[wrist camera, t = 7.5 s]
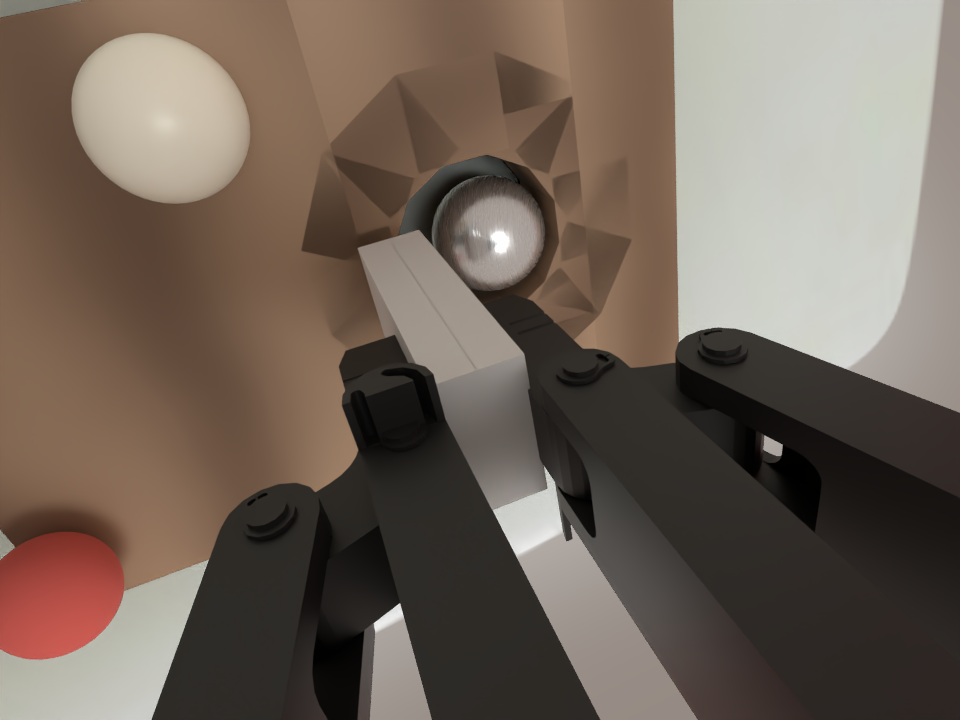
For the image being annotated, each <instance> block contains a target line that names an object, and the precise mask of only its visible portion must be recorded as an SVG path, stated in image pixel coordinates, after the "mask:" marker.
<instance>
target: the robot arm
mask: <svg viewBox="0 0 960 720" xmlns="http://www.w3.org/2000/svg"><path fill="white" fill-rule="evenodd" d="M358 251H359V255H360V258H361V261H362V264H363V268H364V271H365V274H366V277H367V281H368V284H369V287H370V290H371V294H372V297H373V300H374V303H375V307H376V310H377V313H378V316H379V320H380V323H381V326H382V329H383V333H384V336H385V338H383V339H380V340H377V341H374V342H371V343H368V344H365V345H362V346H359V347H355V348H352V349H349V350H346V351H345V353H344V355H343V358H342V360H341V362H340V364H339V370H340V374H341V377H342V381H343V385H344V388H345V392H344V393H343V396H342V408H343V410H344V413H345V416H346V418H347V421H348V424H349V426H350V429H351V432H352V434H353V437H354V440H355V442H356V445H357V448H358V452H357V455H356V457H355V459H354V461H353V462H352V464H351V465H350V466H349V467H348V468H347V470H346V471H345V472H344V473H343V474H342V475H340V476H339V477H338V478H336V479H335V480H334V481H332V482H331V483H330V484H328V485H326V486H325V487H323V488H321V489H320V490H318V491H317V492H314V490H313V489H312V488H311V487H309V486H306V485H302V484H299V483H285V484H277V485H274V486H271V487H268V488H265V489H262V490H260V491H258V492H257V493H255V494H253V495H252V496H250V497H248V498H247V499H245V500H243V501H242V502H241V503H240V504H239V505H238V506H237V507H236V508H235V509H234V510H233V511H232V512H231V513H229V515H228V516H227V518H226V520H225V522H224V523H223V525H222V527H221V528H220V531H219V534H218V536H217V539H216V542H215V545H214V548H213V550H212V553H211V556H210V559H209V561H208V564H207V567H206V570H205V573H204V575H203V578H202V581H201V584H200V586H199V589H198V592H197V595H196V598H195V600H194V603H193V606H192V609H191V612H190V614H189V617H188V620H187V623H186V625H185V628H184V631H183V634H182V637H181V639H180V642H179V645H178V648H177V650H176V653H175V656H174V659H173V662H172V664H171V667H170V670H169V673H168V676H167V678H166V681H165V684H164V687H163V689H162V692H161V695H160V698H159V701H158V703H157V706H156V709H155V712H154V714H153V717H152V720H370V704H371V689H372V673H373V656H374V640H375V629H374V622H376V621H377V620H378V619H379V618H381V617H382V616H383V615H385V614H386V613H387V612H389V611H390V610H391V609H393V608H394V607H395V606H396V605H398V604H399V603H400V604H401V608H402V611H403V615H404V619H405V622H406V626H407V630H408V633H409V637H410V641H411V644H412V648H413V651H414V655H415V659H416V663H417V666H418V670H419V674H420V677H421V681H422V684H423V688H424V692H425V695H426V699H427V703H428V706H429V710H430V714H431V717H432V720H600V719H599V717H598V715H597V713H596V711H595V709H594V707H593V705H592V703H591V701H590V699H589V697H588V695H587V693H586V692H585V690H584V687H583V686H582V684H581V682H580V680H579V678H578V676H577V674H576V672H575V670H574V668H573V666H572V664H571V662H570V660H569V658H568V656H567V654H566V652H565V651H564V649H563V647H562V645H561V643H560V641H559V639H558V637H557V635H556V633H555V631H554V629H553V627H552V625H551V623H550V622H549V619H548V618H547V616H546V614H545V612H544V610H543V608H542V606H541V604H540V602H539V600H538V598H537V596H536V594H535V592H534V590H533V588H532V586H531V585H530V583H529V581H528V579H527V577H526V575H525V573H524V571H523V569H522V567H521V565H520V563H519V561H518V559H517V557H516V555H515V553H514V551H513V549H512V548H511V546H510V544H509V542H508V540H507V538H506V536H505V534H504V532H503V530H502V528H501V526H500V524H499V522H498V520H497V518H496V516H495V515H494V513H493V511H492V510H494V509H496V508H499V507H501V506H504V505H506V504H509V503H512V502H514V501H517V500H519V499H522V498H524V497H527V496H530V495H532V494H535V493H537V492H540V491H542V490H545V489H547V483H546V477H545V471H544V466H545V468H546V469H547V471H548V472H549V474H550V475H551V477H552V478H553V479H554V481H555V485H556V491H557V497H558V503H559V510H560V516H561V522H562V528H563V532H564V536H565V539H566V541H569V540H571V539H572V533H571V525H572V526H573V528H574V530H575V531H576V533H577V534H578V536H579V537H580V539H581V540H582V542H583V543H584V545H585V546H586V548H587V550H588V551H589V553H590V554H591V556H592V557H593V559H594V560H595V562H596V563H597V565H598V567H599V568H600V570H601V571H602V572H603V574H604V576H605V577H606V579H607V580H608V582H609V583H610V585H611V587H612V588H613V590H614V591H615V593H616V594H617V596H618V597H619V599H620V600H621V602H622V604H623V605H624V607H625V608H626V610H627V611H628V613H629V614H630V616H631V617H632V619H633V620H634V622H635V623H636V625H637V627H638V628H639V630H640V631H641V633H642V634H643V636H644V637H645V639H646V641H647V642H648V643H649V645H650V647H651V648H652V650H653V651H654V653H655V654H656V656H657V657H658V659H659V660H660V662H661V664H662V665H663V666H664V668H665V670H666V671H667V673H668V674H669V676H670V678H671V679H672V681H673V682H674V683H675V685H676V687H677V688H678V690H679V691H680V693H681V694H682V696H683V697H684V699H685V701H686V702H687V704H688V705H689V707H690V708H691V710H692V711H693V713H694V714H695V716H696V718H697V719H698V720H960V413H958V412H956V411H953V410H951V409H948V408H945V407H943V406H940V405H938V404H935V403H932V402H930V401H927V400H925V399H922V398H920V397H917V396H914V395H912V394H909V393H907V392H904V391H901V390H899V389H896V388H894V387H891V386H888V385H886V384H883V383H880V382H878V381H875V380H873V379H870V378H867V377H865V376H862V375H860V374H857V373H854V372H852V371H849V370H847V369H844V368H841V367H839V366H836V365H834V364H831V363H828V362H826V361H823V360H821V359H818V358H815V357H813V356H810V355H808V354H805V353H802V352H800V351H797V350H794V349H792V348H789V347H787V346H784V345H781V344H779V343H776V342H774V341H771V340H768V339H766V338H763V337H761V336H758V335H755V334H753V333H750V332H746V331H742V330H738V329H729V328H711V329H706V330H700V331H698V332H695V333H693V334H690V335H687V336H686V337H685V338H684V339H682V340H681V341H680V342H679V343H678V345H677V348H676V351H675V363H668V364H661V365H654V366H647V367H635V368H630V367H629V366H628V365H627V364H626V363H625V362H623V361H622V360H621V359H620V358H619V357H617V356H615V355H614V354H612V353H610V352H608V351H603V350H599V349H594V348H592V349H583V348H582V347H581V346H579V345H578V344H577V343H576V342H575V341H574V340H573V339H572V338H571V337H570V336H569V335H568V334H567V333H566V332H565V331H564V330H563V329H562V328H561V327H560V326H559V325H558V324H557V323H554V321H553V320H552V319H551V318H550V317H549V316H548V315H547V314H545V313H544V311H543V310H542V309H541V308H540V307H539V306H538V305H537V304H536V303H535V302H534V301H532V300H529V299H526V298H523V297H520V296H517V295H514V294H513V295H510V296H507V297H504V298H501V299H498V300H494V301H491V302H488V303H485V304H482V303H481V302H480V301H479V300H478V299H477V298H476V296H475V295H474V294H473V293H472V292H471V290H470V289H469V288H468V287H467V286H466V285H465V283H464V282H463V281H462V280H461V279H460V278H459V276H458V275H457V274H456V273H455V272H454V270H453V269H452V268H451V267H450V266H449V265H448V263H447V262H446V261H445V260H444V259H443V258H442V256H441V255H440V254H439V253H438V252H437V250H436V249H435V248H434V247H433V246H432V245H431V243H430V242H429V241H428V240H427V239H426V238H425V236H424V235H423V234H422V233H421V232H420V230H417V231H413V232H410V233H406V234H403V235H400V236H396V237H393V238H389V239H386V240H383V241H379V242H376V243H372V244H369V245H366V246H362V247H359V248H358ZM764 435H765V436H767V437H769V438H771V439H773V440H775V441H777V442H779V443H781V444H783V449H782V455H781V456H775V455H772V454H770V453H768V452H766V451H764V450H763V446H764Z"/></svg>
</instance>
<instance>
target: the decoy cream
mask: <svg viewBox="0 0 960 720" xmlns="http://www.w3.org/2000/svg"><path fill="white" fill-rule="evenodd" d="M71 101H72V117H73V123H74V127H75V130H76V134H77V136H78V138H79V141H80V143H81V145H82V147H83V149H84V150H85V152H86V154H87V155H88V157H89V158H90V159H91V161H92V162H93V163H94V165H95V166H96V167H97V168H98V169H99V170H100V171H101V172H102V173H103V174H104V175H105V176H106V177H107V178H109V179H110V180H111V181H112V182H114V183H115V184H117V185H118V186H119V187H121V188H122V189H124V190H126V191H128V192H130V193H132V194H134V195H136V196H139V197H141V198H144V199H148V200H151V201H155V202H161V203H171V204H180V203H189V202H194V201H198V200H201V199H204V198H207V197H210V196H212V195H214V194H216V193H217V192H219V191H220V190H222V189H223V188H225V187H226V186H227V185H228V184H229V183H230V182H231V181H232V180H233V179H234V177H235V176H236V175H237V174H238V172H239V170H240V169H241V167H242V165H243V163H244V161H245V158H246V156H247V152H248V148H249V142H250V122H249V116H248V112H247V108H246V105H245V102H244V100H243V97H242V95H241V93H240V91H239V89H238V87H237V86H236V84H235V82H234V81H233V80H232V78H231V77H230V76H229V74H228V73H227V72H226V71H225V70H224V68H223V67H222V66H221V65H220V64H219V63H218V62H217V61H215V60H214V59H213V58H212V57H211V56H210V55H208V54H207V53H205V52H204V51H202V50H201V49H199V48H198V47H196V46H194V45H192V44H190V43H188V42H186V41H183V40H181V39H178V38H175V37H171V36H168V35H164V34H156V33H136V34H129V35H125V36H122V37H118V38H116V39H113V40H111V41H109V42H107V43H105V44H104V45H102V46H101V47H100V48H98V49H97V50H95V51H94V52H93V53H92V54H91V55H90V56H89V57H88V58H87V60H86V61H85V62H84V64H83V65H82V66H81V68H80V70H79V72H78V74H77V76H76V79H75V83H74V86H73V91H72V98H71Z"/></svg>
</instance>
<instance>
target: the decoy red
mask: <svg viewBox="0 0 960 720" xmlns="http://www.w3.org/2000/svg"><path fill="white" fill-rule="evenodd" d="M123 592H124V574H123V569H122V566H121V563H120V561H119V559H118V558H117V556H116V554H115V553H114V552H113V550H112V549H111V548H110V547H108V546H107V545H106V544H105V543H104V542H102V541H101V540H99V539H97V538H95V537H92V536H90V535H87V534H83V533H77V532H54V533H49V534H45V535H41V536H38V537H35V538H33V539H30V540H28V541H26V542H24V543H22V544H21V545H19V546H17V547H16V548H14V549H13V550H12V551H10V552H9V553H8V554H7V555H6V556H5V557H3V558H2V559H1V560H0V649H1V650H3V651H4V652H6V653H9V654H11V655H14V656H17V657H21V658H25V659H49V658H55V657H59V656H63V655H66V654H68V653H71V652H73V651H75V650H77V649H79V648H81V647H83V646H85V645H86V644H88V643H89V642H90V641H92V640H93V639H95V638H96V637H97V636H98V635H99V634H100V633H101V632H102V631H103V630H104V629H105V628H106V627H107V626H108V624H109V623H110V622H111V620H112V619H113V617H114V616H115V614H116V612H117V610H118V608H119V606H120V603H121V600H122V597H123Z"/></svg>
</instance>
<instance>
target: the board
mask: <svg viewBox="0 0 960 720" xmlns="http://www.w3.org/2000/svg"><path fill="white" fill-rule="evenodd" d="M136 33H156V34H164V35H168V36H171V37H175V38H178V39H181V40H183V41H186V42H188V43H190V44H192V45H194V46H196V47H198V48H199V49H201V50H202V51H204V52H205V53H207V54H208V55H210V56H211V57H212V58H213V59H214V60H215V61H217V62H218V63H219V64H220V65H221V66H222V67H223V68H224V70H225V71H226V72H227V73H228V74H229V76H230V77H231V78H232V80H233V81H234V82H235V84H236V86H237V87H238V89H239V91H240V93H241V95H242V97H243V100H244V102H245V105H246V108H247V112H248V116H249V122H250V142H249V148H248V152H247V156H246V158H245V161H244V163H243V165H242V167H241V169H240V170H239V172H238V174H237V175H236V176H235V177H234V179H233V180H232V181H231V182H230V183H229V184H228V185H227V186H226V187H225V188H223V189H222V190H220V191H219V192H217V193H216V194H214V195H212V196H210V197H207V198H204V199H201V200H198V201H194V202H189V203H180V204H171V203H161V202H155V201H151V200H148V199H144V198H141V197H139V196H136V195H134V194H132V193H130V192H128V191H126V190H124V189H122V188H121V187H119V186H118V185H117V184H115V183H114V182H112V181H111V180H110V179H109V178H107V177H106V176H105V175H104V174H103V173H102V172H101V171H100V170H99V169H98V168H97V167H96V166H95V165H94V163H93V162H92V161H91V159H90V158H89V157H88V155H87V154H86V152H85V150H84V149H83V147H82V145H81V143H80V141H79V138H78V136H77V134H76V130H75V127H74V123H73V117H72V101H71V98H72V91H73V86H74V83H75V79H76V76H77V74H78V72H79V70H80V68H81V66H82V65H83V64H84V62H85V61H86V60H87V58H88V57H89V56H90V55H91V54H92V53H93V52H94V51H95V50H97V49H98V48H100V47H101V46H102V45H104V44H105V43H107V42H109V41H111V40H113V39H116V38H118V37H122V36H125V35H129V34H136ZM483 155H490V156H494V157H497V158H500V159H503V161H504V162H505V163H506V164H507V165H508V167H509V168H510V169H511V170H512V172H513V173H514V174H515V175H516V176H517V178H518V179H519V180H520V184H521V186H522V187H523V188H525V189H526V190H527V191H528V192H529V193H530V194H531V195H532V197H533V198H534V199H535V201H536V202H537V204H538V206H539V208H540V210H541V213H542V215H543V219H544V224H545V242H544V247H543V250H542V253H541V256H540V258H539V260H538V262H537V264H536V265H535V267H534V268H533V270H532V271H531V272H530V273H529V274H528V275H527V276H526V277H525V278H523V279H522V280H521V281H519V282H518V283H516V284H515V285H512V286H510V287H508V288H505V289H501V290H495V291H481V290H476V289H472V288H469V287H468V288H469V289H470V290H471V292H472V293H473V294H474V295H475V296H476V298H477V299H478V300H479V301H480V302H481V303H482V304H485V303H488V302H491V301H494V300H498V299H501V298H504V297H507V296H510V295H513V294H514V295H517V296H520V297H523V298H526V299H529V300H532V301H534V302H535V303H536V304H537V305H538V306H539V307H540V308H541V309H542V310H543V311H544V313H545V314H547V315H548V316H549V317H550V318H551V319H552V320H553V321H554V323H557V324H558V325H559V326H560V327H561V328H562V329H563V330H564V331H565V332H566V333H567V334H568V335H569V336H570V337H571V338H572V339H573V340H574V341H575V342H576V343H577V344H578V345H579V346H581V347H582V348H583V349H592V348H594V349H599V350H603V351H608V352H610V353H612V354H614V355H615V356H617V357H619V358H620V359H621V360H622V361H623V362H625V363H626V364H627V365H628V366H629V367H630V368H635V367H647V366H654V365H661V364H668V363H675V351H676V348H677V345H678V343H679V334H678V274H677V213H676V153H675V93H674V32H673V0H86V1H81V2H76V3H71V4H66V5H61V6H56V7H51V8H46V9H41V10H36V11H31V12H26V13H21V14H16V15H11V16H6V17H1V18H0V529H1V531H2V532H3V533H4V534H5V535H6V537H7V538H8V539H9V540H10V541H11V542H12V544H13V545H14V546H15V547H17V546H19V545H21V544H22V543H24V542H26V541H28V540H30V539H33V538H35V537H38V536H41V535H45V534H49V533H54V532H77V533H83V534H87V535H90V536H92V537H95V538H97V539H99V540H101V541H102V542H104V543H105V544H106V545H107V546H108V547H110V548H111V549H112V550H113V552H114V553H115V554H116V556H117V558H118V559H119V561H120V563H121V566H122V569H123V574H124V591H125V590H128V589H131V588H133V587H136V586H139V585H141V584H144V583H147V582H149V581H152V580H155V579H157V578H160V577H163V576H166V575H168V574H171V573H174V572H176V571H179V570H182V569H184V568H187V567H190V566H192V565H195V564H198V563H200V562H203V561H206V560H208V559H210V556H211V553H212V550H213V548H214V545H215V542H216V539H217V536H218V534H219V531H220V528H221V527H222V525H223V523H224V522H225V520H226V518H227V516H228V515H229V513H231V512H232V511H233V510H234V509H235V508H236V507H237V506H238V505H239V504H240V503H241V502H242V501H243V500H245V499H247V498H248V497H250V496H252V495H253V494H255V493H257V492H258V491H260V490H262V489H265V488H268V487H271V486H274V485H277V484H285V483H299V484H302V485H306V486H309V487H311V488H312V489H313V490H314V492H317V491H318V490H320V489H321V488H323V487H325V486H326V485H328V484H330V483H331V482H332V481H334V480H335V479H336V478H338V477H339V476H340V475H342V474H343V473H344V472H345V471H346V470H347V468H348V467H349V466H350V465H351V464H352V462H353V461H354V459H355V457H356V455H357V452H358V448H357V445H356V442H355V440H354V437H353V434H352V432H351V429H350V426H349V424H348V421H347V418H346V416H345V413H344V410H343V408H342V396H343V393H344V392H345V388H344V385H343V381H342V377H341V374H340V370H339V364H340V362H341V360H342V358H343V355H344V353H345V351H346V350H349V349H352V348H355V347H359V346H362V345H365V344H368V343H371V342H374V341H377V340H380V339H383V338H385V336H384V333H383V329H382V326H381V323H380V320H379V316H378V313H377V310H376V307H375V303H374V300H373V297H372V294H371V290H370V287H369V284H368V281H367V277H366V274H365V271H364V268H363V264H362V261H361V258H360V255H359V251H358V248H359V247H362V246H366V245H369V244H372V243H376V242H379V241H383V240H386V239H389V238H393V237H396V236H398V235H399V231H400V227H401V224H402V220H403V216H404V213H405V209H406V205H407V202H408V201H409V200H410V199H411V198H412V197H413V196H414V195H415V194H416V193H417V192H418V191H419V190H420V189H421V188H422V187H423V186H424V185H425V184H426V182H427V181H428V180H429V179H430V178H431V177H432V176H433V175H434V174H435V173H436V172H437V171H438V170H439V169H440V168H441V167H443V166H447V165H451V164H454V163H458V162H461V161H465V160H469V159H472V158H476V157H479V156H483Z"/></svg>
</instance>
